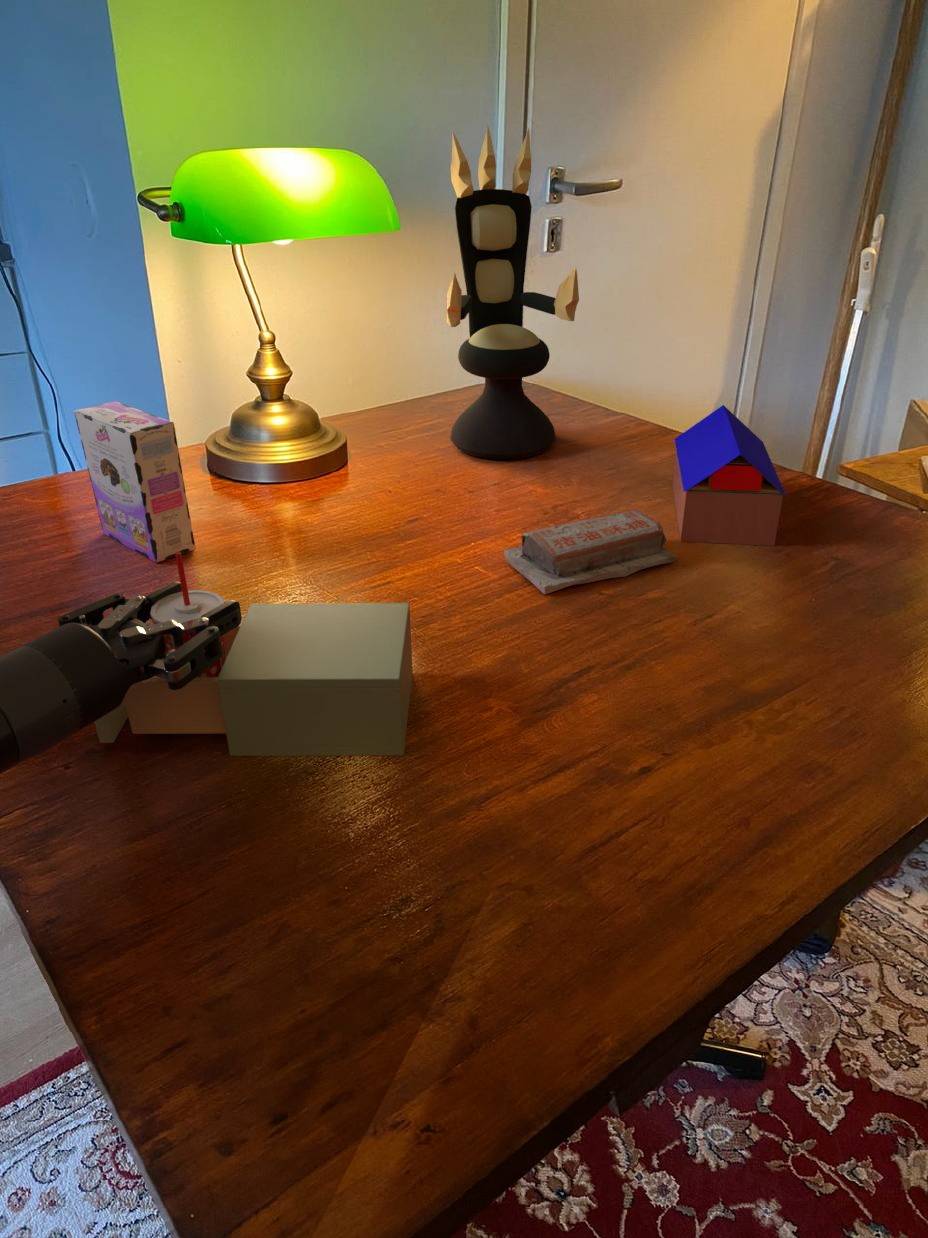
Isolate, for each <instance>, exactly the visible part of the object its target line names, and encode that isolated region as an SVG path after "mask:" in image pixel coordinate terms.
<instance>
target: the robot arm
mask: <svg viewBox="0 0 928 1238" xmlns="http://www.w3.org/2000/svg"><path fill="white" fill-rule="evenodd" d="M178 592H182V589H181V583H180V581H173V582H171V583H169V584H168V585H165V586H163V587H161V588H159V589H157V590H156V591H153V592H151V593H149V594H148V595H145V596H144V595H141V594H139V595H133V596H132V597H131V598H126V595H125V594H124V593H122V592H118V593H113V594H110V595H109V596H107V597H104V598H101V599H99V600H97V601H94V602H91V603H89V604H86V605H85V606H82V607H79V608H77V609H74V610H72V611H69V612H67V613H65V614H63V615H60V616H59V617H58V618H57V622H58V627H57V628H54V629H52V630H51V631H49V632H47V633H44V634H42V635H40V636H38V637H36V638H34V639H33V640H31V641H28V642H26V643H24V644H22V645H20V646H19V647H15V648H14V649H12V650H10V651H9V652H6V653H4V654H2V655H0V776H1V775H2V774H4V773H6V772H8V771H9V770H11V769H12V768H13V767H14V768H15V766H17V765H19V764H21V763H24V762H25V761H28V760H30V759H32V758H34V757H37V756H39V755H42V754H43V753H45V752H47V751H49V750H50V749H52V748H54V747H56V746H57V745H58V744H59V745H60V743H62V742H63V741H65V740H67V739H69V738H70V737H72V736H73V735H75V734H77V733H78V732H80V731H82V730H84V729H85V728H87V727H88V726H90V725H91V724H93V723H95V721H96V720H98V719H100V718H101V717H103V716H105V715H106V714H108V713H110V712H111V711H113V710H114V709H116V708H117V707H119V706H120V705H121V703H122V702H123V700H124V698H125V695H126V693H127V691H128V690H129V688H130V687H131V686H132V685H133V684H135V683H138V682H141V681H145V680H148V679H151V678H152V677H160V678H164V679H167V681H168V686H169V689H171V690H179V689H181V688H183V687H184V686H186V685H187V684H188V683H189V682H191V681H192V680H193V679H195V678H196V677H197V676H198V675H200V674H201V673H202V672H203V671H205V670H206V669H207V668H209V667H210V666H211V665H212V664H214V663H215V662H216V661H218V660H219V659H220V658H221V657H222V656H223V651H222V645H221V639H220V637H221V636H223V635H224V634H226V633H228V632H229V631H231V630H233V628H236V627H238V626H239V625H240V624H241V622H242V621H243V620H242V618H243V617H242V612H241V611H242V610H241V604H240V602H239V601H236V600H233V599H228V600H227V601H224V602H225V603H223V604H221V605H220V606H218V607H216V608H214V609H213V610H211V611H209V612H207V613H205V614H204V615H202V616H201V618H197V619H193V620H190V621H186V622H182V623H178V622H177V621H175V620H169V621H165V622H161V623H158V624H154V623H153V624H150V623H151V621H152V617H151V615H150V612H151V608H152V606H153V605H154V604H155V603H156V602H157V601H159V600H161V599H162V598H164V597H166V596H168V595H171V594H175V593H178ZM109 609H112V612H111V613H110V614H109V615H108V616H107V617H106V618H104V613H105V611H107V610H109ZM150 620H151V621H150ZM192 632H195V633H196V636H194V637H193V638H191V639H190V640H189V641H187V642H186V643H185V644H184V641H183V636H184V635H185V634H188V633H192ZM166 634H170V639H171V644H172V649H171V650H169V653H167V654H165V653H166V645H165V640H164V636H163V635H166ZM204 651H206V652H205V653H204Z"/></svg>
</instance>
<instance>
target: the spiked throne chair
mask: <svg viewBox="0 0 928 1238" xmlns="http://www.w3.org/2000/svg"><path fill="white" fill-rule="evenodd" d="M451 145H452V146H451V161H450V167H449V168H450V179H451V185H452V186H453V190H454V192H455V195H456V197H457V198H456V201H455V205H454V214H455V215H454V216H455V223H456V225H455V226H456V233H457V240H458V245H459V253H460V258H461V265H462V272H463V277H464V283H465V290H466V294H462V292H463V291H462V288H461V287H460V284H459V281H458V278H457V275H456V273H453V278H452V279H451V281H450V284H449V286H448V288H447V295H446V296H447V297H446V298H447V299H446V301H447V302H446V324H447V325H448V326H449V327H451V328H456V327H458V326H460V324H461V321H462V320H465V319H466V318H467V316H468V332H469V338H467V339H466V340H465V341H463V343H462V344H461V345H460V346H459V349H458V353H457V354H458V356H457V358H458V362H459V364H460V366H461V367H462V369H463V370H464V371H466V373H469V374H471V375H473V376H475V377H478V378H479V377H480V378H484V388H483V390H482V394H480V396H479V397H478V398H477V399H475V401H474V402H473V403H471V404H470V405H469V406H468V407H467V408H466V409H465V410H463V412H461V414H460V415H459V416H458V417H457V419H456V420H455V422H454V423H453V425H452V426H451V432H450V437H449V438H450V441H451V443H452V444H453V445H454V446H455V447H456V449H457V450H459V451H461V452H463V453H464V454H466V455H470V456H474V457H477V458H483V459H488V460H489V459H490V460H512V459H524V458H528V457H534V456H537V455H539V454H541V453H544V452H546V451H547V450H548V449H549V448H550V447H552V445H553V444H554V442H555V441H556V439H557V437H556V430H555V426H554V424H553V423H552V421H551V420H550V418H549V417H548V415H547V414H546V413H545V412H544V411H543V410H542V409H541V408H540V407H539V406H538V405H536V404H535V403H534V402H533V401H532V400H531V399H530V398H529V397H528V396H527V394H526V393H525V391H524V387H523V378H527V377H531V376H534V375H537V374H538V373H540V372H542V371H543V370H544V369H545V368H546V367H547V366H548V363H549V361H550V349H549V347H548V344H546V342H544V341H543V340H542V339H541V338H540V337H538V336H537V335H536V333H534V332H533V331H531V330H530V329H528V328H525V327H524V324H523V323H524V307H527V308H530V309H532V310H535V311H539V312H542V313H545V314H550V315H553V316H556V317H557V318H559V319H560V320H564V321H567V322H575V317H576V310H577V306H578V304H579V301H580V294H579V279H578V271H577V267H575V268H574V269H572V271H571V273H570V274H568V275H567V276H566V277H565V278H564V279H563V280H562V282H561V283H560V284H559V285H558V288H557V290H556V291H557V292H556V295H555V297H553V296H550V295H547V294H543V293H539V292H535V291H526V292H525V278H526V269H527V268H526V267H527V258H528V257H527V256H528V255H527V254H528V247H529V239H530V231H531V219H532V207H533V206H532V202H531V198H530V195H528V191H529V189H530V187H529V186H530V179H531V174H532V149H531V134H530V127H527V131H526V135H525V137H524V139H523V142H522V144H521V146H520V149H519V151H518V153H517V157H516V159H515V161H514V167H513V173H512V185H511V186H512V188H511V189H500V188H496V186H497V182H496V180H497V179H496V177H497V163H496V155H495V150H494V146H493V145H494V144H493V141H492V136H491V132H490V128H489V125H488V124H487V126H486V132H485V136H484V139H483V144H482V147H481V151H480V155H479V158H478V169H477V177H478V184H479V185H478V186H479V189H476V190H474V186H473V180H472V173H471V169H470V165H469V162H468V159H467V157H466V155H465V153H464V151H463V149H462V147H461V144H460V142H459V140H458V138H457V136H456V135H455V133H454V132H452V143H451Z"/></svg>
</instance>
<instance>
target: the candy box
mask: <svg viewBox="0 0 928 1238" xmlns="http://www.w3.org/2000/svg"><path fill="white" fill-rule="evenodd" d="M73 412H74V413H73V414H74V417H75V421H76V425H77V431H78V434H79V439H80V443H81V446H82V450H83V455H84V459H85V463H86V467H87V471H88V476H89V480H90V484H91V488H92V492H93V496H94V501H95V504H96V509H97V513H98V517H99V521H100V525H101V530H102V533H103V534H104V535H105V536H107V537H108V538H111V539H113V540H115V541H116V542H118V543H119V544H121V545H123V546H125V547H127V548H129V549H130V550H132V551H134V552H136V553H137V554H139V555H142V556H143V557H145V558H147V559H148V560H150V561H152V562H154V563H156V564H157V563H160V562H163V561H165V560H169V559H172V558H175V557H176V555H175V553H176V552H181V555H183V554H186V553H189V552H192V551H194V550H196V543H195V537H194V532H193V526H192V521H191V516H190V510H189V509H190V508H189V504H188V503H189V502H188V497H187V493H186V487H185V481H184V474H183V467H182V463H181V457H180V452H179V443H178V439H177V433H176V428H175V422H174V421H171V420H168V419H165V418H163V417H159V416H157V415H154V414H152V413H149V412H146V411H143V410H140V409H138V408H135V407H132V406H129V405H126V404H124V403H122V402H119V401H117V400H114V401H110V402H106V403H101V404H97V405H93V406H88V407H84V408H79V409H75V410H74V411H73Z"/></svg>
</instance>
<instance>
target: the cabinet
mask: <svg viewBox="0 0 928 1238" xmlns="http://www.w3.org/2000/svg"><path fill="white" fill-rule="evenodd" d="M410 609H411V608H410V602H306V603H304V602H300V603H299V602H298V603H295V602H294V603H292V602H291V603H290V602H289V603H280V602H279V603H250V604H249V605H248V609H247V610H246V613H245V616H244V617H243V620H242V621H241V622H242V624H241V626H240V629H239V631H238V633H237V635H236V638H235V640H234V642H233V644H232V647H231V649H230V651H229V653H228V656H227V658H226V660H225V662H224V665H223V667H222V669H221V671H220V674H219V676H218V678H217V684H218V690H219V696H220V702H221V707H222V713H223V719H224V724H225V730H226V734H225V736H226V741H227V747H228V754H229V757H311V756H312V757H333V756H334V757H338V756H339V757H341V756H342V757H345V756H346V757H347V756H348V757H351V756H355V757H359V756H360V757H361V756H364V757H365V756H366V757H368V756H369V757H370V756H371V757H376V756H377V757H378V756H379V757H380V756H385V757H386V756H389V757H391V756H392V757H393V756H396V757H397V756H400V757H401V756H404V755H405V748H406V747H405V746H406V738H407V730H408V729H407V728H408V719H409V712H410V711H409V710H410V703H411V702H410V701H411V693H412V683H413V674H414V670H413V668H414V667H413V650H412V649H413V648H412V630H411V629H412V628H411V627H412V625H411V610H410Z"/></svg>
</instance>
